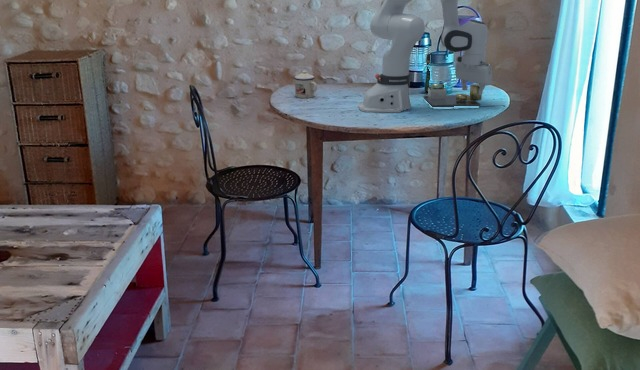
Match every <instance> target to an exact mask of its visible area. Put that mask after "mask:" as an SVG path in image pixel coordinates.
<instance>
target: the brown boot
mask: <svg viewBox="0 0 640 370" xmlns="http://www.w3.org/2000/svg"><path fill="white" fill-rule="evenodd" d="M479 88H480V87H479V84H477V83H472V84H470V87H469V96H467V95H468V94H466V93H457V94H455V95H456V100H460V101H465V100H474V101H477V102H478V101H482V97H483V94H482V95H478V94H477V90H479Z"/></svg>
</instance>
